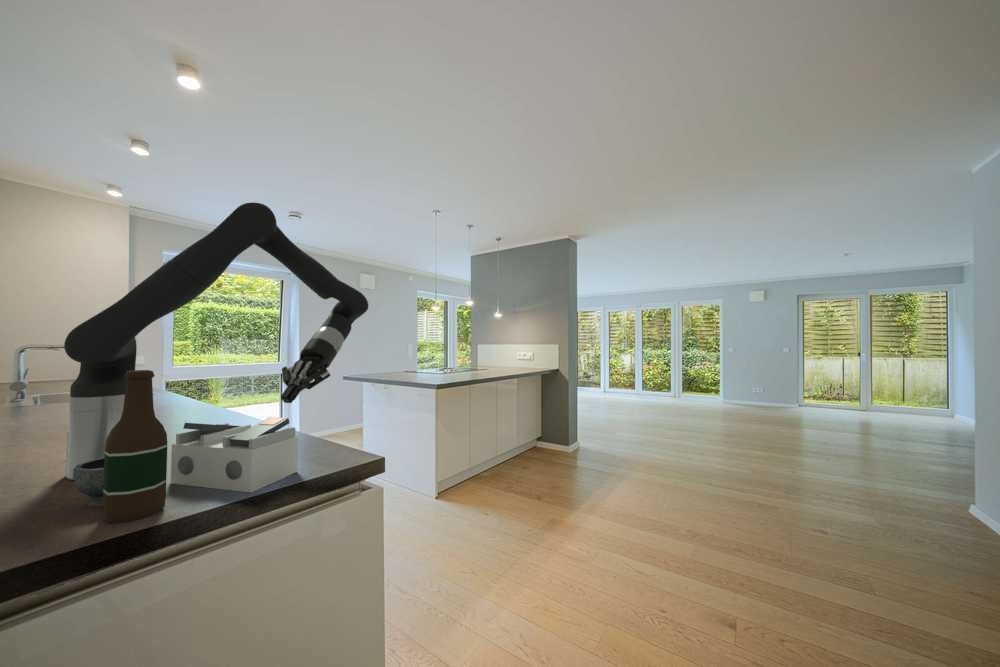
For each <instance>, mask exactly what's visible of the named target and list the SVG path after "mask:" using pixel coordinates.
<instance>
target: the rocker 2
mask: <svg viewBox="0 0 1000 667" xmlns="http://www.w3.org/2000/svg"><path fill="white" fill-rule="evenodd" d="M289 424H290V419H289V418H288V417H273V416H272V417H271V416H269V417H268V418H265V419H264V420H262V421H260V422H258V423H257V424H255V425H253V426H251V428H249V429H247V430H245V431H244V432H242V433H240V434H238V435H236V436H234V437H233V438H231V439H230V442H231V445H244V446H249V439H252V438H255V437H259V436H263V435H266V434H270V433H274V432H277V431H280V430H281V429H282V428H284V427H286V426H287V425H289Z"/></svg>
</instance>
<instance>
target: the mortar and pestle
mask: <svg viewBox="0 0 1000 667" xmlns="http://www.w3.org/2000/svg"><path fill="white" fill-rule="evenodd" d="M73 479H74V480H73V483H74V486H75V488H76V489H77V490H78V491H79V492H80V493H82V494H84V495H85V496H88V498H87V504H86V506H87V507H93V508H95V507H96V508H98V507H103V482H104V458H101V459H96V460H92V461H88V462H85V463H82V464H78V465H77V466H76V467H75V468H74V469H73Z"/></svg>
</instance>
